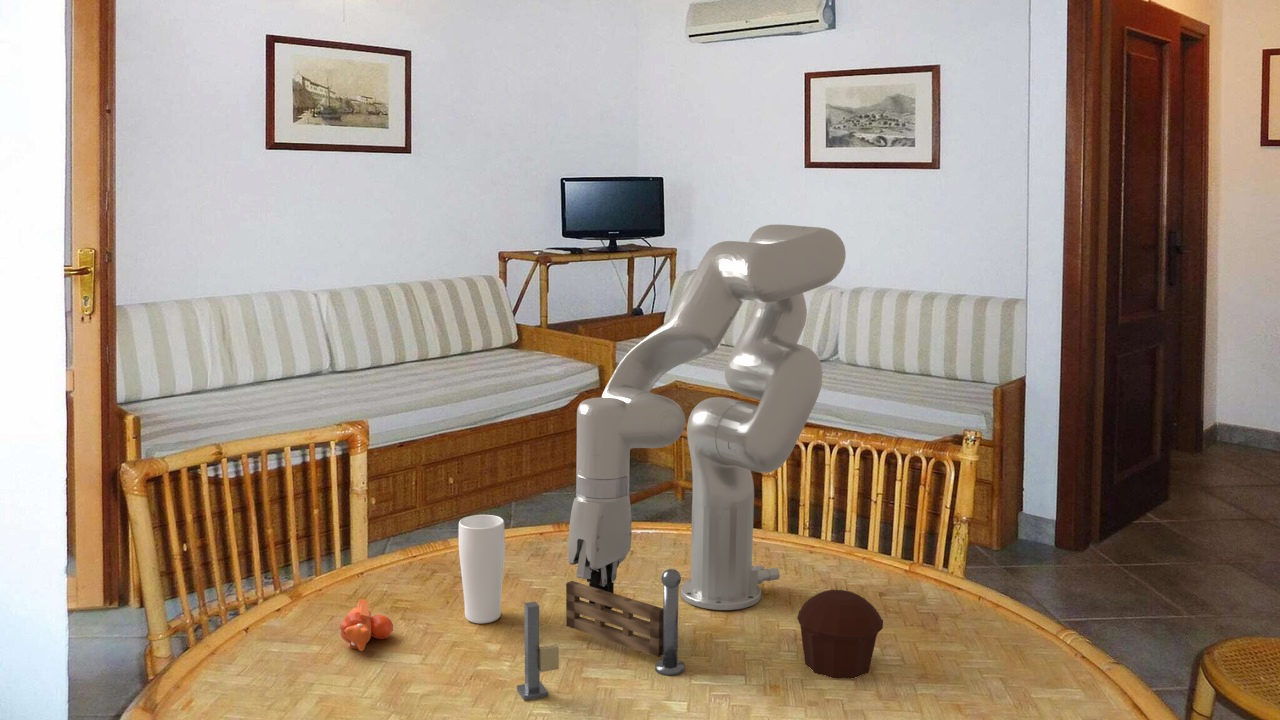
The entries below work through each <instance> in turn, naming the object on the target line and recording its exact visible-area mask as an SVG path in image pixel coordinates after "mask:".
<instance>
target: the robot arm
mask: <svg viewBox="0 0 1280 720" xmlns="http://www.w3.org/2000/svg"><path fill="white" fill-rule="evenodd" d="M845 262H846V248H845V244H844V241H843V240H842V238H841V236H839V235H838V234H837V233H836V232H834V231H833V230H831V229H828V228H825V227H817V226H816V227H815V226H803V225H792V224H791V225H790V224H767V225H764V226H760V227H758V228H757V229H756V230H755V231H754V232H753V233H752V234H751V236H750V238H749V241H738V240H737V241H735V240H726V241H725V240H723V241H720V242H717V243H715V244H714V245H711V247H710V248H708V250H707V251H706V252H705V254H704V256H703V257H702V259H701V261H700V262H699V264H698V266H697V268H696V270H695V272H694V273H693V275H692V277H691V279H690V280H689V282H688V284H687V286H686V287H685V289H684V291H683V293H682V295H681V296H680V299H679V300H678V301H677V303H676V305H675V307H674V309H673V310H672V312H671V314H670V316H669V317H668V319H667V320H666V321H665V322H664V323H663V324H662V325H661V326H659V327H658V328H657V329H655V330H654V331H651V333H650V334H648V335H647V336H646V337H645V338H643V339H642V340H641V341H639V342H638V343H637V344H636V345H635V346H634V347H632V348H631V349H630V350H629V351H628V352H627V354H626V355H624V357H623V358H622V359H621V361H620V362H619V363H618V364H617V367H616V368H615V370H614V371H613V373H612V375H611V376H610V379H609V381H608V382H607V384H606V385H605V388H604V390H603V392H602V394H601V397H591V398H587V399H584V400H582V401H581V402H580V403H579V404H578V406H577V409H576V410H577V411H576V473H575V475H576V476H575V478H576V479H575V480H576V481H575V483H576V485H575V487H576V488H575V493H576V494H575V496H576V497H574V498H573V502H572V507H571V512H570V520H569V529H568V541H567V543H568V544H567V545H568V546H567V560H568V563H569V565H571V566H573V565H577V570H576V577H577V578H579V579H583V580H586V582H587V583H589V584H588V586H591V587H594V588H597V589H601V590H604V591H607V592H611V593H614V591H615V590H614V589H615V587H614V585H615V584H614V582H615V581H616V580H617V576H618V575H617V573H618V572H617V571H618V567H619V565H620V564H622V562H624V561H625V560H626V558H627V557H626V556H627V555H628V554H629V552H630V551H631V548H632V531H633V530H632V529H633V528H632V527H633V526H632V511H631V509H632V508H631V499H630V468H631V467H630V459H631V458H630V455H631V453H630V451H631V450H632V449H642V448H643V449H659V448H665V447H669V446H670V445H673V444H674V443H675V442H677V441H678V439H679V438H681V436H682V435H683V433H684V430H685V427H686V436H687V443H688V450H689V455H690V456H689V457H690V461H691V462H690V463H691V470H692V471H691V473H692V500H691V503H692V504H691V547H690V548H691V549H690V550H691V552H690V553H691V555H690V558H691V559H690V578H689V579H688V580H685V581H684V582H683V583H682V585H681V586H680V596H681V598H682V599H683V600H684V602H686V603H688V604H691V605H693V606H695V607H698V608H702V609H707V610H711V611H712V610H714V611H735V610H741V609H746V608H749V607H752V606H754V605H756V604H757V603H758V602H760V600H761V598H762V589H761V587H760V586H759V585H762V584H763V582H773V581H778V580H779V579H780V577H781V575H780V570H779V568H777V567H773V568H766V569H765V566H764V565H762V564H761V565H755V566H753V545H754V544H753V539H754V507H755V505H754V504H755V503H754V502H755V487H754V485H755V483H754V478H753V475H752V472H754V473H755V472H756V473H759V474H760V473H761V474H764V473H765V474H767V473H772V472H775V471H776V470H778V469H779V468H780V467H782V466H783V465H784V463H785V462H786V461H787V460H788V459H789V457H790V455H791V454H792V452H793V451H794V448H795V446H796V444H797V441H799V438H800V436H801V434H802V432H803V430H804V428H805V425H806V423H807V422H808V419H809V418H810V415H811V412H812V410H813V409H814V406H815V404H816V402H817V400H818V398H819V395H820V393H821V390H822V384H823V366H822V362H821V359H820V357H818V355H817V354H816V353H815V352H814V351H813V350H812V349H811V348H809V347H807V346H805V345H802V344H798V343H799V340H800V338H801V335H802V333H803V331H804V328H805V326H806V322H807V317H808V312H807V310H808V309H807V303H806V299H805V295H804V293H807V292H810V291H812V290H815V289H818V288H820V287H822V286H825V285H827V284H829V283H831V282H832V281H833V280H835V279H836V278H837V276H839V274H840V273H841V272H842V270H843V268H844V265H845ZM745 301H751V302H752V301H753V302H754V304H753V308H752V310H751V313H750V315H749V317H748V319H747V321H746V323H745V325H744V326H743V329H742V331H741V333H740V335H739V337H738V339H737V341H736V343H735V345H734V347H733V349H732V351H731V353H730V356H729V358H728V360H727V362H726V365H725V369H724V378H725V382H726V384H727V386H729V388H730V389H731V390H732V391H734V392H735V393H737V394H740V395H742V396H745V397H747V398H751V399H755V400H760V401H759V403H758V405H755V404H752V403H749V402H746V401H742V400H737V399H733V398H729V397H723V396H722V397H721V396H716V397H709V398H706V399H703V400H702V401H700V402H699V403H697V404H696V406H695V407H694V408H693V409H692V410H691V412H690V415H689V416H688V420H687V423H686V416H685V413H684V411H683V409H682V407H681V406H680V405H679V403H677V402H676V401H675V400H673V399H671V398H669V397H667V396H664V395H660V394H656V393H654V392H651V391H652V389H653V387H654V385H656V383H658V381H659V380H660V379H661V378H662V377H663V376H664V375H665V374H667V373H668V372H669V371H671V370H673V369H674V368H677V367H678V366H681V365H683V364H685V363H689V362H691V361H694V360H697V359H699V358H703V357H705V356H708V355H710V354H712V353H714V352H716V350H718V348H720V346H721V344H722V342H723V339H724V338H725V336H726V334H727V333H728V331H729V329H730V327H731V324H732V323H733V322H734V320H735V317H736V316H737V314H738V312H739V311H740V309H741V307H742V305H743V303H744V302H745ZM686 424H687V426H686ZM614 594H615V593H614ZM588 603H592V604H595V602H593V601H590V600H588ZM605 608H607V609H611V610H613V608H612V607H609V606H606V605H605Z"/></svg>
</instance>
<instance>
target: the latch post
mask: <svg viewBox="0 0 1280 720" xmlns="http://www.w3.org/2000/svg"><path fill="white" fill-rule="evenodd" d="M523 606H524V608H523V609H524V610H523V611H524V612H523V613H524V616H523V617H524V618H523V619H524V620H523V621H524V626H523V627H524V683H523V684H517V685H516V691H517V693H518V694H519V695H520V697H521V699H522V700H523V701H529V700H534V699H541V698H546V697H549V691H548V689H547V688H546V687H545V686H544V684H543V683H542V682H541V681H540V680H541V679H540V677H541V676H540V673H543V672H544V673H545V672H549V671H556V670H559V669H560V667H559V666H560V663H559V660H560V659H559V658H560V657H559V655H560V652H559V651H560V650H559V649H560V648H559V646H558V645H557V644H553V645H545V646H540V605H539V604H538V603H537V601H530V602H524V603H523Z"/></svg>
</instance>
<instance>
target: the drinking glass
mask: <svg viewBox="0 0 1280 720" xmlns="http://www.w3.org/2000/svg"><path fill="white" fill-rule="evenodd" d="M505 530H506V529H505V521H504V519H503V518H502V517H500V516H498V515H492V514H474V515H470V516H465V517H463V518H461V519H460V520H459V521H458V534H457V535H458V541H457V542H458V543H457V544H458V554H459V565H460V574H461V582H462V592H463V602H464V603H463V604H464V617H465V619H466V620H467V621H468V622H470V623H473V624H488V623H493V622H495V621H497V620H499V618H500V617H501V612H502V593H503V592H502V590H503V580H504V579H503V575H504V564H505V552H506V551H505V549H506V533H505Z"/></svg>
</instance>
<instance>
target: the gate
mask: <svg viewBox="0 0 1280 720" xmlns="http://www.w3.org/2000/svg"><path fill="white" fill-rule="evenodd" d="M565 587H566V588H565V589H566V590H565V592H566V593H565V594H566V595H565V597H566V598H565V599H566V600H565V602H566V603H565V605H566V609H565V610H566V611H565V613H566V616H565V617H566V618H565V619H566V620H565V621H566V622H565V624H566V625H565V626H566V627H568V628H571V629H574V630H577V631H578V632H579V631H580V632H582V633H585V634H588V635H591V636H595V637H598V638H600V639H603V640H606V641H609V642H613V643H615V644H618V645H621V646H624V647H626V648H631V649H633V650H636V651H639V652H643V653H645V654H648V655H650V656H655V657H657V658H660V657H661V656H663V607H659V606H656V605H652V604H650V603H646V602H644V601H640V600H637V599H633V598H630V597H628V596H627V597H626V596H624V595H620V594H617V593H611V592H607V591H604V590H601V589H597V588H594V587H591V586H589V584H588V585H587V584H585V583H582V582H581V583H580V582H577V581H574V580H571V581H568V582H566V583H565ZM580 598H582V599H585V600H587V601H585V600H581V599H580ZM589 600H590V601H593V602H595V604H592V603H589ZM605 605H606V606H609V607H612V609H607V608H605ZM613 609H616V610H618V611H616V610H613ZM619 610H620V611H622V612H620V611H619ZM581 615H582V616H581ZM634 615H635V616H638V617H635V616H634ZM583 616H585V617H583ZM587 617H588V618H587ZM639 617H642V618H645V619H647V620H645V619H642V618H639ZM589 618H590V619H589ZM592 619H594V620H592ZM648 619H649V620H648ZM608 624H609V625H608ZM612 625H613V626H616V627H613V626H612ZM617 627H619V628H621V629H619V628H617ZM635 633H637V634H635ZM638 634H640V635H638ZM641 635H643V636H641ZM644 636H646V637H644Z"/></svg>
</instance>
